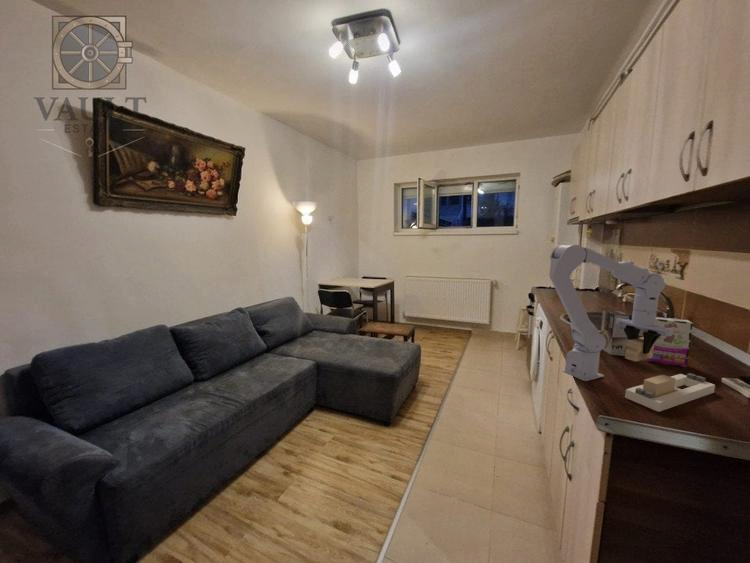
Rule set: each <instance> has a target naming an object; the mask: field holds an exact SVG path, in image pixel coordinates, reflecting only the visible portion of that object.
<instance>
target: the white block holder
mask: <svg viewBox="0 0 750 563" xmlns="http://www.w3.org/2000/svg"><path fill="white" fill-rule="evenodd" d="M682 386H686V388H683V389H682V388H680V387H682ZM715 388H716V385H715V383H714V384H713V383H710V382H707V381H706V377H705V376H704V377H703V376H701V375H697V374H695V373H690V372H689V373H686V375H685V374H683V373H679V374H675V375H672V376H668V375H665V374H659V375H656V376H652V377H649V378H645V379H643V384H640V385H635V386H632V387H629V388H626V389H625V392H624V393H625V395H624V398H626V399H627V400H630V401H632V402H635V403H636V404H639V405H642V406H644V407H646V408H649V409H651V410H653V411H656V412H657V413H658V412H662V411H665V410H668V409H670V408H674V407H677V406H679V405H682V404H685V403H688V402H691V401H695V400H697V399H700V398H702V397H706V396H708V395H711V394H714V393H715Z"/></svg>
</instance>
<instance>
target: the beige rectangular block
mask: <svg viewBox="0 0 750 563" xmlns="http://www.w3.org/2000/svg"><path fill="white" fill-rule="evenodd" d="M643 346H644V337H643V336H642V337H638V338H636V339H631V340H627V346H626V354H625V356H624V358H625V359H627V360H629V361H632V362H641V361H645V360H646V359H648V358H652V356H653V349H654V344H653V346H652V347H651V350H650V352H649V353H648V354H644V353H643Z"/></svg>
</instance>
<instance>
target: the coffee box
mask: <svg viewBox="0 0 750 563" xmlns="http://www.w3.org/2000/svg"><path fill="white" fill-rule="evenodd" d="M601 318H602V319H601V326H600V334H602V335H603V336H604V337H605V339H606V345H605V347H604V348H603V349H602V350H603V351H604V352H605V353H607V354H609V355H610V356H622V357H625V354H626V346H627V340H628V338H627V335H626V333H625V332H624V328H626V326H624V325H618V324H616V319H617V318H622V319H628V320H632V314H629V313H627V312H624V311H621V310H616V309H615V310H614V309H613V310H612V309H611V310H609V309H608V310H606V309H603V310H602V317H601Z"/></svg>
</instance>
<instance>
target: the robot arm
mask: <svg viewBox="0 0 750 563" xmlns="http://www.w3.org/2000/svg"><path fill="white" fill-rule="evenodd" d="M549 258H550V266H549V275H548V276H549V278H550V280H551V282H552V285H553V287H554V289H555V291H556V293H557V296H558V297H559V300H560V302H561V304H562V306H563V307H564V310H565V313H566V314H567V317H568V319H569V322H571V323H570V325H569V326H570V328H571V338H572V340H573V341H574V344H573V348H572V349H571V350H569V351H568V352H567V353H566V356H565V364H564V365H565V366H564V369H563V370H561V372H563V373H564V374H567V375H570V376H571V377H574V378H577V379H579V380H580V381H583V382H588V381H592V380H595V379H599V378H604V377H605V375H604V374H602V373H599V365H600V356H601V351H602V350H603V348H604V347H605V345H606V339H605V337H604V336H603V335H602V334H601V332H600V331H598V328H597V327H596V325H594V323H593V322H592V321H591V320H590V318H589V315H588V314H587V311H586V309H585V307H584V305H583V303H582V301H581V300H582V299H581V298H580V296H579V294H578V292H577V290H576V288H575V285H574V284H573V281H572V279H571V275H572V274H573V272H574V271H575V270H576V269H577V268H579V266H581V264H582V263H584V264H587V263H590V264H592V265H595V266H598V267H600V268H603V269H605V270H607V271H609V272H611V275H612V277H613V278H615V279H618V280H620V281H622V282H624V283H627V284H629V285H631V286H632V287H633V288H634V289H635V290H634V298H633V299H634V300H633V308H632V314H631V315H632V320H628V319H622V318H617V319H616V324H618V325H624V326H626V328H624V332H625V333H626V335H627V338H628V340H631V339H636V338H639V335H640V333H641V331H644V332H643V333H642V337H644V346H643V353H644V354H648V353H649V352H650V350H651V347H652V346H653V344H654V343H655V341H656V340H657V339H658V338H659V337H660V336H661V334H663V335H665V336H672V334H673V329H669V328H665V327H662V326H658V325H655V321H656V317H657V313H658V312H657V311H658V306H659V297H660V296H661V292H662V291H663V290H664V289H665V287H666V285H667V282H665V279H664V278H663V276H662V275H661V274H658V273H655V272H654V273H653V272H650V271H649V268H647V267H643V268H642V267H640V266H638V265H635V262H634V261H632V260H627V261H626V260H622V261H619V262H618V261H615V260H614V259H612V258H609V257H608V256H605V255H603V254H602V253H599V252H597V251H595V250H593V249H590V248H588V247H583V246H581V245H579V244H565V243H562V244H558V245H556V246H555V247H554V249H553V250H552V252H551V254H550V256H549ZM647 331H648V332H647Z"/></svg>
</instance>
